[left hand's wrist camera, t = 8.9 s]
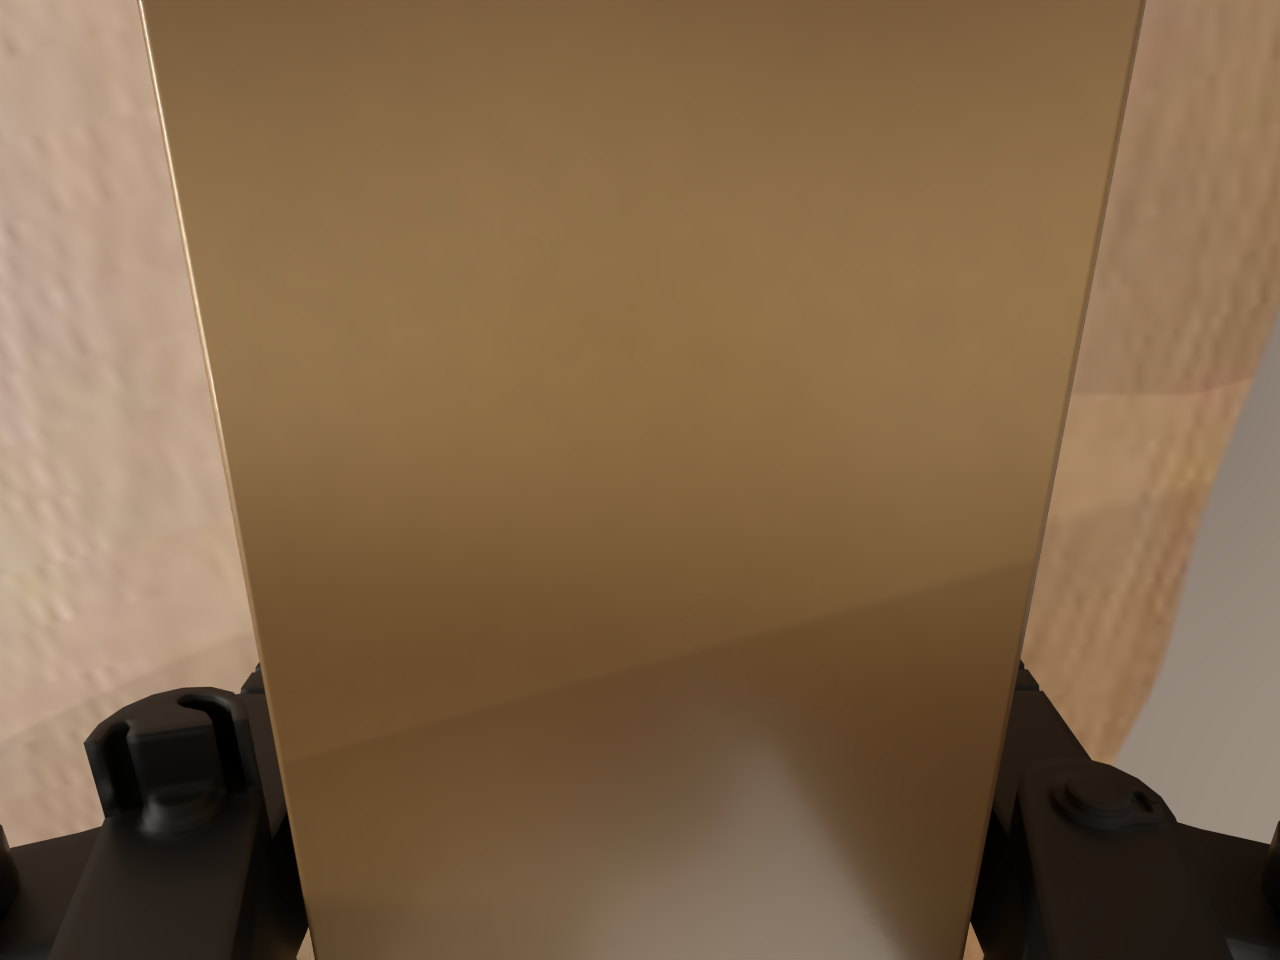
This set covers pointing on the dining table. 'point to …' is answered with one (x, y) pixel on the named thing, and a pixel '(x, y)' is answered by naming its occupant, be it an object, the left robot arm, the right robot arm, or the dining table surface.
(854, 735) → the bar
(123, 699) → the dining table surface
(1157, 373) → the dining table surface
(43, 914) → the left robot arm
